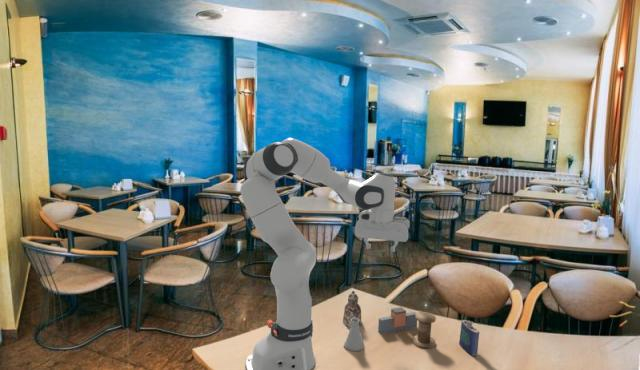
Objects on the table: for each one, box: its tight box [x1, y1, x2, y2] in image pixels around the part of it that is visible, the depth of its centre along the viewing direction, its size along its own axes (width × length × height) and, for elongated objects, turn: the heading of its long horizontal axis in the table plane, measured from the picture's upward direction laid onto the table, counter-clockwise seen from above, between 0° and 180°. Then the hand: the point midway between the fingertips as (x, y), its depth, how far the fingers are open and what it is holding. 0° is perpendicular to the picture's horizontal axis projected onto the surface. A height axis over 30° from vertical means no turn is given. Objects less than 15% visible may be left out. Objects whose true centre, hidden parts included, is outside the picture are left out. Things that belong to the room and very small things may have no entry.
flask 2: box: [458, 319, 480, 358], centre depth 145 cm, size 9×3×11 cm, turn 13°
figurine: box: [342, 290, 362, 327], centre depth 162 cm, size 7×7×12 cm
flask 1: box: [343, 318, 365, 352], centre depth 145 cm, size 7×7×10 cm
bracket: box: [377, 311, 418, 335], centre depth 158 cm, size 16×2×6 cm, turn 112°
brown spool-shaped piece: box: [411, 311, 437, 349], centre depth 149 cm, size 8×8×10 cm
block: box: [390, 306, 407, 327], centre depth 157 cm, size 4×3×6 cm
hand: (380, 250), depth 160 cm, fingers open, 8 cm apart
